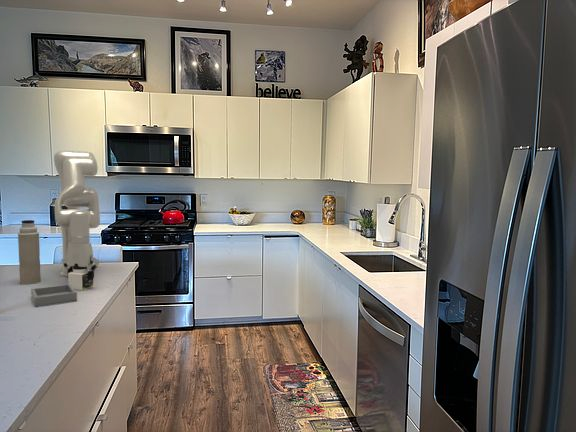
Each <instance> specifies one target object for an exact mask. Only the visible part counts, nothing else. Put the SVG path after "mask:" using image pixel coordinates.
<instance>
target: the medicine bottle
mask: <svg viewBox="0 0 576 432" xmlns="http://www.w3.org/2000/svg"><path fill="white" fill-rule="evenodd" d="M88 271H89V270H88V268H87V267H79V266H78V264H74V266H73V272H70V273H68V277H67V279H68V281H67V284H71V286H72V287H73V288H74V290H75V291H85V290H87V289H90V288H92V287H94V279H92V280H88Z"/></svg>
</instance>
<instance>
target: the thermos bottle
mask: <svg viewBox="0 0 576 432" xmlns="http://www.w3.org/2000/svg"><path fill="white" fill-rule="evenodd" d="M17 243H18V263H19V268H18V269H19V283H20V284H21V285H33V284H37V283H40V282H41V280H42V279H41V278H42V277H41V275H42V274H41V259H40V256H41V255H40V254H41V253H40V232H39V231H38V227H36V226H35V220H33V219H31V220H30V219H27V220H25V219H24V220H21V227H20V228H19V232H18V233H17Z"/></svg>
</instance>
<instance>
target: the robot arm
mask: <svg viewBox="0 0 576 432" xmlns="http://www.w3.org/2000/svg"><path fill="white" fill-rule="evenodd" d="M53 163H54V167H55V170H56V172H57V174H58V176H59V180H60V187H61V192H60V193H59V194H58V195H57V197H56V199H55V202H54V219H55V223H56V226H59V227H61V237H62V239H61V240H62V259H61V262H62V265H63V266H62V269H63V270H61V271H60V272H59V275H60V277H67V278H68V273H70V272H73V266H74V264H78V266H79V267H87V268H88V270H89V271H88V280H92V279H93V280H94V278H95V270H96V269H97V268H98V266H99V264H100V260H98V259H97V258H96V257H94V252H93V246H92V243H91V241H90V236H91V235H90V229H96V228H98V227H99V226H100V224H101V214H100V203H99V195H98V194H99V193H98V192H97V190H96V189H95V188H93V187H86V183H85V177H95V176H96V175H97V174H98V162H97V159H96V157H95V155H94V154H93V152H90V151H77V150H76V151H75V150H60V151H57V152H55V153H54V156H53ZM62 205H63V206H65V208H71V209H63V208H62ZM73 208H74V209H73ZM75 208H78V209H75ZM80 208H81V209H80ZM87 208H88V209H87Z"/></svg>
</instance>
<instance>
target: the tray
mask: <svg viewBox="0 0 576 432" xmlns="http://www.w3.org/2000/svg"><path fill="white" fill-rule="evenodd" d="M30 295H31V300H32V302H33V305H34V307H35V308H39V307H45V306H53V305H59V304H67V303H73V302H78V296H77V295H78V292H77V290H74V288H73V287H72V286H71V284H68V283H67V284H60V285H51V286H43V287H35V288H31V289H30Z"/></svg>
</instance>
